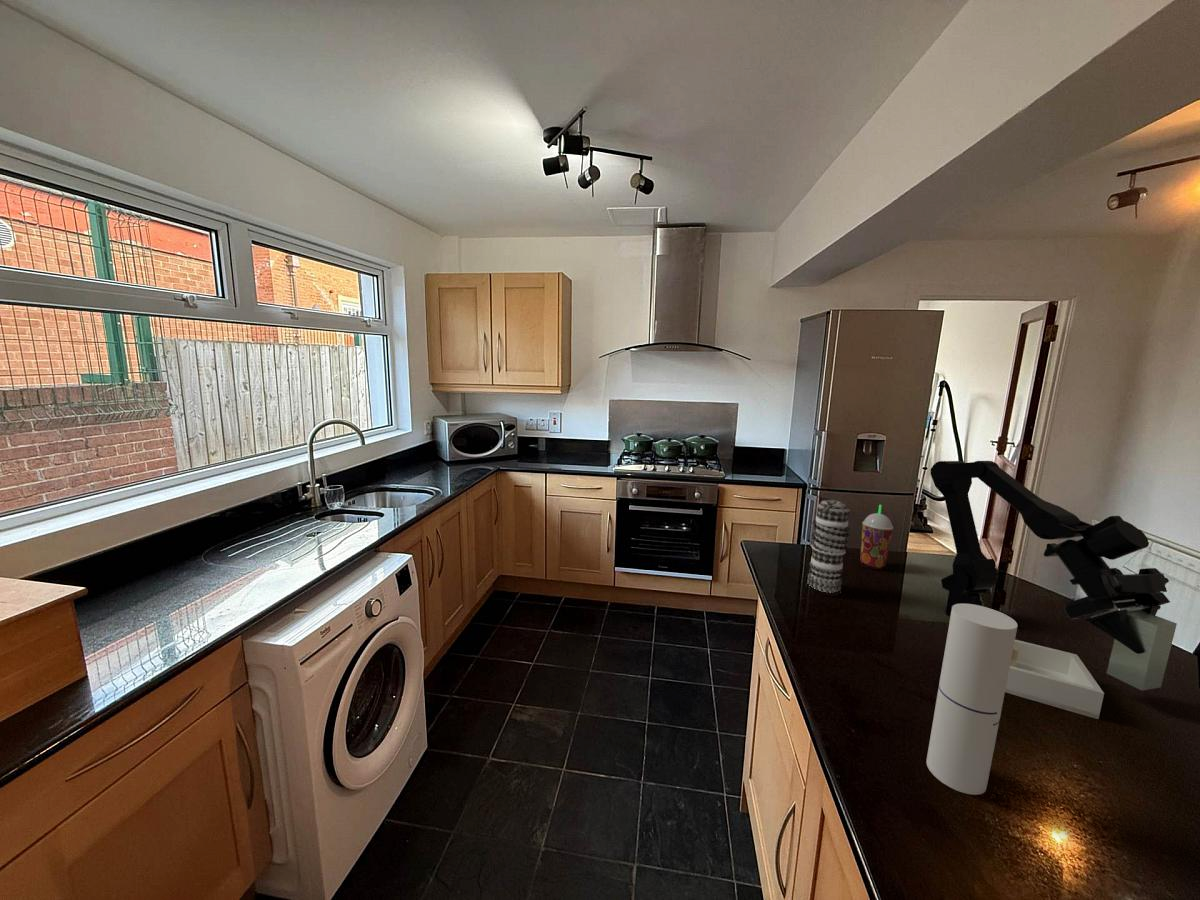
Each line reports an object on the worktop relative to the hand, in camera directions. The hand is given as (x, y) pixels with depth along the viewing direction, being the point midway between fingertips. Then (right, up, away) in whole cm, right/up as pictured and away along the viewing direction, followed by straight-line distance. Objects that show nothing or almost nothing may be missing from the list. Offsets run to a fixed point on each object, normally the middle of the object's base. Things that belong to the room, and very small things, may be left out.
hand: (1151, 651), depth 85 cm
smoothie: (-14, 0, +63) cm, 65 cm away
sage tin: (-1, -6, +2) cm, 7 cm away
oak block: (-19, -7, +11) cm, 23 cm away
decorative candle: (-38, -2, +45) cm, 59 cm away
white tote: (-16, -9, +8) cm, 20 cm away
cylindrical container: (-47, -11, -16) cm, 51 cm away
